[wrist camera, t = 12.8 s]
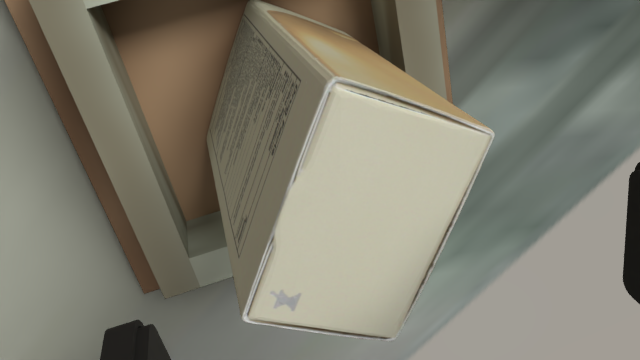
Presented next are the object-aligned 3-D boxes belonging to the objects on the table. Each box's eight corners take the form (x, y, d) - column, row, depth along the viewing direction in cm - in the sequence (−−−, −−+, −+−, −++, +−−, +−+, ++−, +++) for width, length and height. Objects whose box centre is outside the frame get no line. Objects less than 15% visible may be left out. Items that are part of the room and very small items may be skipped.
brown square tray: (411, -182, 21) (459, -196, 18) (452, 181, 29) (492, 220, 26) (-23, -76, 20) (-63, -70, 16) (144, 281, 27) (142, 337, 24)
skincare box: (297, 163, 25) (394, 357, 15) (202, 139, 24) (233, 336, 13) (350, 23, 23) (509, 133, 13) (249, -13, 22) (332, 76, 11)
